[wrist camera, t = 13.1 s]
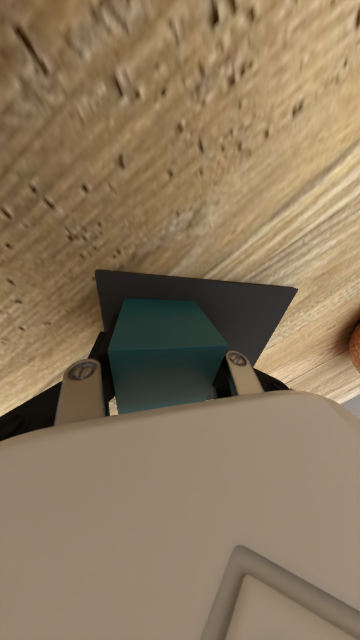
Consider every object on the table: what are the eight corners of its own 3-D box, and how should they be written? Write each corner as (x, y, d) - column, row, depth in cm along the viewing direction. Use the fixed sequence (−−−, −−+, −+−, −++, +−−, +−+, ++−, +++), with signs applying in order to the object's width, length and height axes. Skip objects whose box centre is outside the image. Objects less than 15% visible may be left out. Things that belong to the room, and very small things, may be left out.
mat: (119, 408, 16) (118, 414, 16) (97, 269, 8) (94, 271, 8) (234, 391, 20) (236, 395, 20) (292, 287, 12) (298, 289, 12)
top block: (128, 353, 11) (119, 419, 7) (124, 297, 9) (107, 350, 5) (184, 350, 13) (204, 405, 9) (195, 301, 10) (229, 344, 6)
